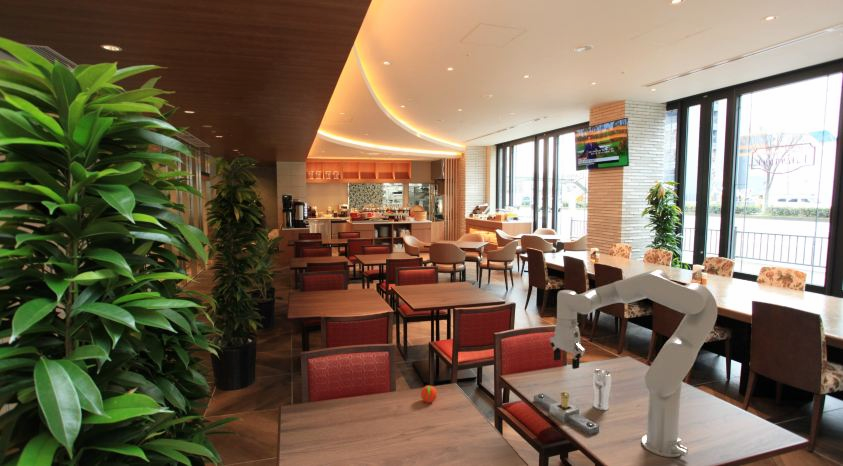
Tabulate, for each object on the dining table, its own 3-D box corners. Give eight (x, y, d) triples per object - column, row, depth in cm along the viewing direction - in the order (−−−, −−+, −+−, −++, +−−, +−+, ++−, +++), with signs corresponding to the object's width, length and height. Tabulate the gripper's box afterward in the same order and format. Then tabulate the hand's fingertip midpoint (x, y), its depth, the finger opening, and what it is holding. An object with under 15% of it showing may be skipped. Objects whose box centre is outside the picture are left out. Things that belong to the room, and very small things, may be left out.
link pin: (570, 416, 174) (571, 395, 173) (564, 418, 172) (565, 396, 171) (564, 412, 177) (564, 391, 176) (558, 414, 175) (558, 393, 174)
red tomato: (437, 407, 182) (437, 390, 181) (420, 406, 182) (420, 390, 181) (436, 398, 190) (436, 382, 189) (421, 397, 190) (421, 382, 189)
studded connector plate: (601, 430, 163) (602, 421, 163) (586, 436, 159) (587, 427, 159) (545, 397, 190) (545, 389, 189) (530, 401, 186) (531, 393, 186)
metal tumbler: (606, 403, 185) (608, 369, 183) (612, 411, 178) (613, 376, 176) (590, 402, 185) (591, 368, 184) (594, 410, 178) (596, 375, 177)
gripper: (591, 326, 165) (590, 369, 167) (557, 315, 180) (557, 355, 182) (577, 329, 162) (576, 373, 163) (544, 317, 177) (543, 358, 178)
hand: (566, 363), depth 172 cm, fingers open, 9 cm apart
